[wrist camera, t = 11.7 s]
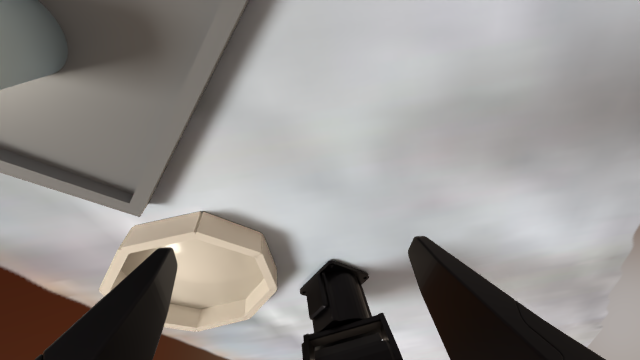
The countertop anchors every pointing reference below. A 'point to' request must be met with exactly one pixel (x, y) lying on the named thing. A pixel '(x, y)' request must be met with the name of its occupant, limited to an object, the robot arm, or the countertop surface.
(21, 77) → the peg
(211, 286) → the bowl
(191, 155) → the countertop surface
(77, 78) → the tray
